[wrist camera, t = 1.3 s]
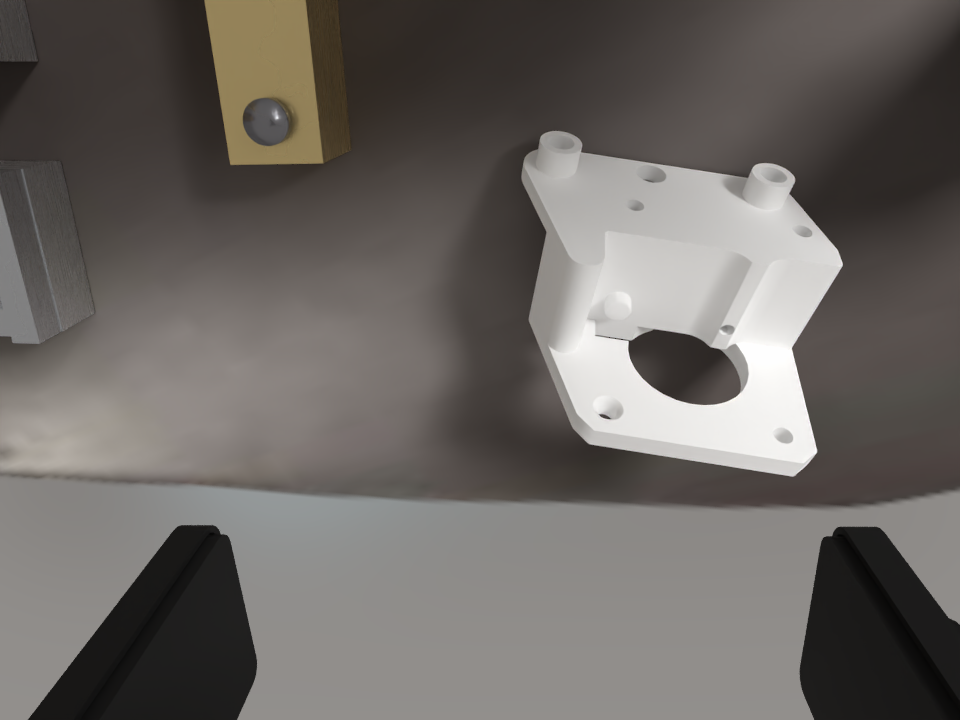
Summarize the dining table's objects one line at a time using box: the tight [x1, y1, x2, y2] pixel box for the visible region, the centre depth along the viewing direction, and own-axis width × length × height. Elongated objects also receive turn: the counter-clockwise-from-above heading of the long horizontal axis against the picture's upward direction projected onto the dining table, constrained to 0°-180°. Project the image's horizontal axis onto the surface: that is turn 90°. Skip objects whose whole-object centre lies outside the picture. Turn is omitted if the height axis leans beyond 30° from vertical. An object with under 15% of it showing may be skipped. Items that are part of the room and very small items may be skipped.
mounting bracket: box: [521, 131, 843, 476], centre depth 27 cm, size 12×6×11 cm, turn 82°
